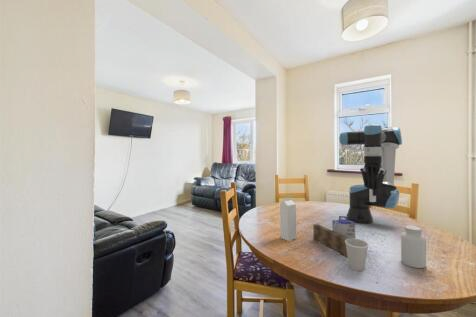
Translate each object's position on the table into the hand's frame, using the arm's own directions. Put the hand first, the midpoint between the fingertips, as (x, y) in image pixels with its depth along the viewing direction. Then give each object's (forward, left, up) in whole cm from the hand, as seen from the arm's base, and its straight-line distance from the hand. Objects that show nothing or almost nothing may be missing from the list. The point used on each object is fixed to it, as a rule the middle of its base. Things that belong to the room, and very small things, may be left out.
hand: (372, 201), depth 110 cm
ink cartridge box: (0, -19, -21) cm, 28 cm away
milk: (-19, -38, -21) cm, 47 cm away
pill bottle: (+22, -5, -21) cm, 31 cm away
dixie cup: (+16, -28, -21) cm, 38 cm away
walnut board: (-2, -25, -20) cm, 33 cm away
